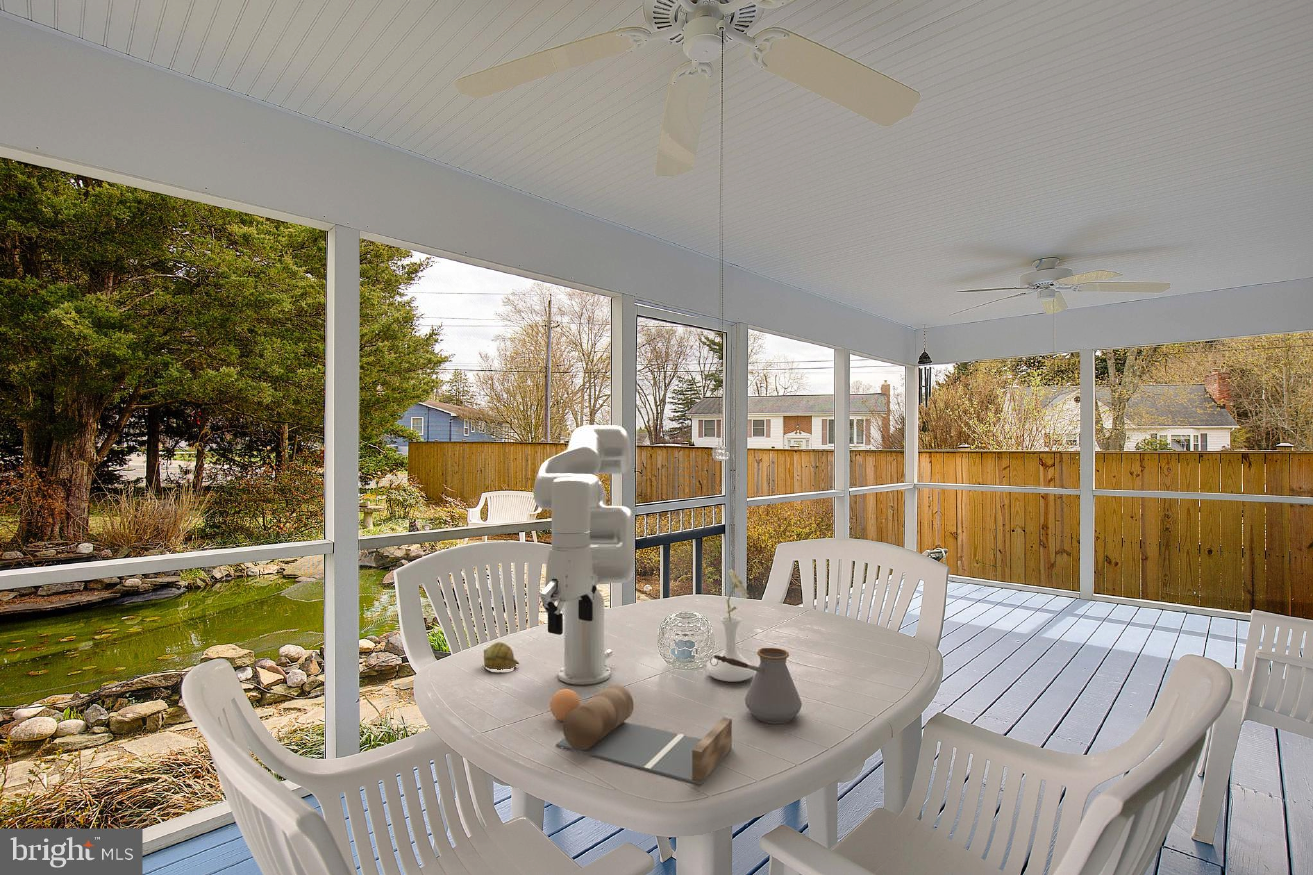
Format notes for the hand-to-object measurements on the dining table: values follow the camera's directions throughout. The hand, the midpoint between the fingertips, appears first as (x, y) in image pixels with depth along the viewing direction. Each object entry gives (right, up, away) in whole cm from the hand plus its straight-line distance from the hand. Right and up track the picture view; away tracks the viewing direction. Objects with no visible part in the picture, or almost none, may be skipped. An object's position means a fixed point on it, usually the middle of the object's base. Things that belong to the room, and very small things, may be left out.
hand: (570, 626), depth 128 cm
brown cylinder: (+6, -19, -5) cm, 21 cm away
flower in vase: (+35, -20, +26) cm, 48 cm away
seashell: (-21, -20, +32) cm, 43 cm away
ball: (-1, -16, +2) cm, 17 cm away
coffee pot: (+37, -20, +2) cm, 42 cm away
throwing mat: (+15, -19, -9) cm, 26 cm away
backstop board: (+27, -19, -16) cm, 37 cm away
